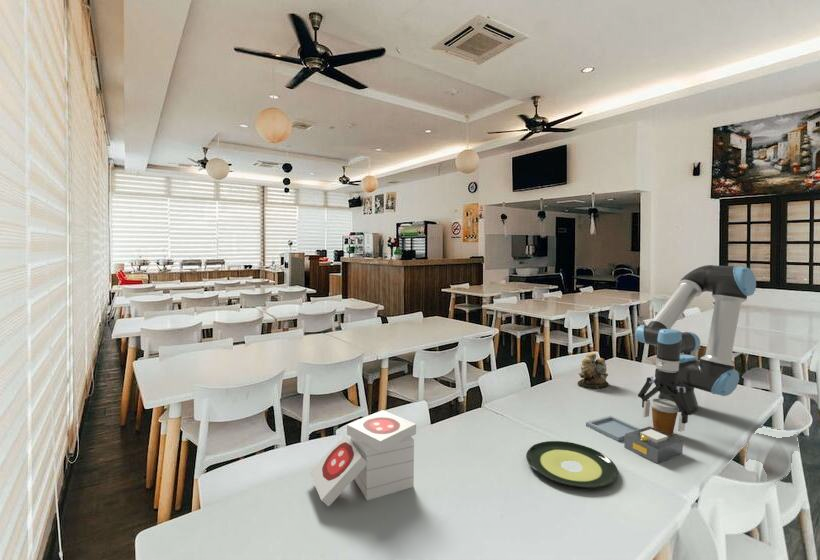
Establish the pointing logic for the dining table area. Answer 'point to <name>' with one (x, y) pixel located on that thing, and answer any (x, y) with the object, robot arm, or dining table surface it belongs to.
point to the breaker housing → (653, 446)
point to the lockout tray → (612, 427)
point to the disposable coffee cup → (664, 415)
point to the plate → (552, 453)
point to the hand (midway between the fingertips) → (662, 423)
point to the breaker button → (654, 436)
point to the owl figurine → (593, 372)
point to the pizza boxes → (369, 458)
